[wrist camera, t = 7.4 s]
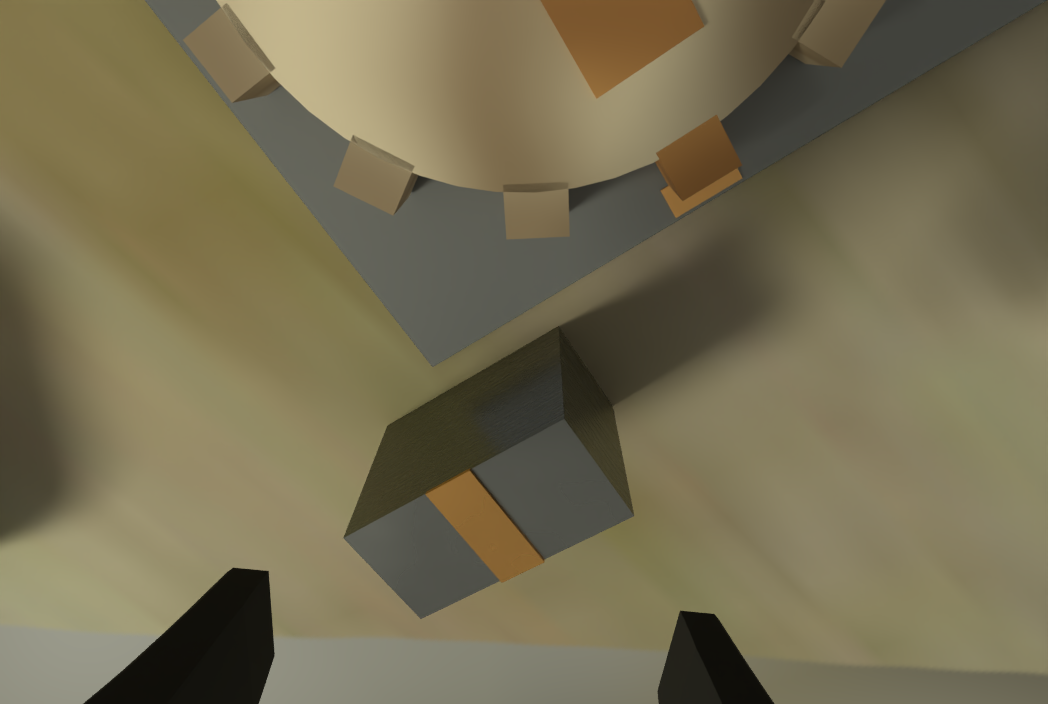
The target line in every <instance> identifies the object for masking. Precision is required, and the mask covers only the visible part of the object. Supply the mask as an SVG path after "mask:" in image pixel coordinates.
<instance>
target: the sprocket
mask: <svg viewBox="0 0 1048 704" xmlns="http://www.w3.org/2000/svg"><path fill="white" fill-rule="evenodd" d="M216 1H217V2H218V4H219V5H220V7H221V8H220V9H219V10H217V11H216V12H215V13H214V14H213V15H212V16H210V17H209V18H208V19H207V20H206V21H205V22H203V23H202V24H201V25H200V26H199V27H197V28H196V29H195V30H194V31H193V32H192V33H190V34H189V35H188V36H187V37H186V38H185V39H183V41H184V42H185V43H186V45H187V46H188V47H189V48H190V50H191V51H192V52H193V54H194V55H195V56H196V57H197V59H198V60H199V61H200V63H201V64H202V65H203V66H204V68H205V69H206V70H207V71H208V73H209V74H210V75H211V77H212V78H213V79H214V80H215V82H216V83H217V84H218V86H219V87H220V88H221V89H222V91H223V92H224V93H225V94H226V96H227V97H228V98H229V100H230V101H231V102H232V103H234V102H239V101H243V100H248V99H253V98H257V97H262V96H267V95H269V94H270V93H271V92H273V91H274V90H275V89H277V88H278V87H279V86H280V85H282V86H283V87H284V88H285V89H286V90H287V91H288V92H289V93H290V94H291V95H292V96H293V97H294V98H295V99H297V100H298V101H299V102H300V103H301V104H302V105H303V106H304V107H305V108H306V109H307V110H308V111H309V112H311V113H312V114H313V115H314V116H316V117H317V118H318V119H320V120H321V121H322V122H324V123H325V124H326V125H328V126H329V127H330V128H332V129H333V130H334V131H336V132H337V133H338V134H340V135H341V136H342V137H344V138H345V139H347V140H349V141H350V144H349V146H348V149H347V151H346V154H345V157H344V159H343V162H342V165H341V167H340V170H339V173H338V175H337V178H336V180H335V183H334V187H336V188H338V189H340V190H342V191H344V192H346V193H348V194H350V195H352V196H354V197H356V198H358V199H360V200H362V201H364V202H366V203H368V204H370V205H373V206H375V207H377V208H379V209H381V210H383V211H385V212H387V213H389V214H391V215H393V216H394V214H395V213H396V212H397V211H398V209H399V208H400V207H401V206H402V205H403V203H404V202H405V201H406V200H407V199H408V197H409V196H410V194H411V191H412V189H413V187H414V185H415V182H416V180H417V178H418V175H419V176H423V177H426V178H430V179H434V180H437V181H441V182H444V183H448V184H451V185H455V186H459V187H466V188H473V189H480V190H486V191H493V192H503V195H504V210H505V225H506V239H527V238H548V237H569V236H570V230H569V193H568V189H571V188H577V187H581V186H585V185H589V184H593V183H597V182H601V181H605V180H609V179H613V178H616V177H619V176H621V175H624V174H626V173H629V172H631V171H634V170H636V169H639V168H641V167H644V166H646V165H649V164H652V163H654V162H655V163H656V165H657V166H658V168H659V170H660V172H661V174H662V175H663V177H664V179H665V181H666V183H667V184H668V185H669V186H670V187H671V189H672V190H673V191H674V192H675V193H676V194H677V195H678V197H679V198H680V199H681V200H682V201H684V200H686V199H687V198H689V197H691V196H692V195H694V194H695V193H697V192H699V191H700V190H702V189H704V188H705V187H707V186H709V185H710V184H712V183H714V182H715V181H717V180H719V179H720V178H722V177H724V176H725V175H727V174H728V173H730V172H732V171H733V170H735V169H737V168H738V167H740V166H742V164H741V162H740V160H739V158H738V156H737V154H736V152H735V150H734V148H733V146H732V144H731V142H730V140H729V138H728V136H727V134H726V132H725V130H724V128H723V126H722V124H721V122H720V121H721V120H722V119H724V118H725V117H727V116H728V115H729V114H730V113H731V112H732V111H733V110H734V109H735V108H737V107H738V106H739V105H740V104H741V103H742V102H743V101H744V100H745V99H746V98H747V97H749V96H750V95H751V94H752V93H753V92H754V91H755V90H756V89H757V88H758V87H760V86H761V85H762V83H763V82H764V81H765V80H766V79H767V78H768V77H769V75H770V74H771V73H772V72H773V71H774V70H775V69H776V67H777V66H778V65H779V64H780V63H781V62H782V61H783V60H784V58H785V57H786V56H787V55H788V54H789V55H791V56H793V57H794V58H796V59H798V60H799V61H801V62H803V63H804V64H810V65H820V66H830V67H839V68H842V66H843V65H844V63H845V62H846V60H847V59H848V57H849V56H850V54H851V53H852V51H853V50H854V48H855V47H856V45H857V44H858V42H859V40H860V39H861V37H862V36H863V34H864V33H865V31H866V30H867V28H868V27H869V25H870V24H871V22H872V21H873V19H874V18H875V16H876V15H877V13H878V12H879V10H880V9H881V7H882V5H883V4H884V2H885V1H886V0H216Z"/></svg>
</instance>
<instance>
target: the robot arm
mask: <svg viewBox="0 0 1048 704" xmlns="http://www.w3.org/2000/svg"><path fill="white" fill-rule="evenodd" d="M273 658H274V641H273V627H272V613H271V599H270V585H269V571H261V570H251V569H241V568H232V569H231V570H230V571H228V572H227V573H226V574H225V575H224V576H223V577H222V578H221V579H220V580H219V581H218V582H217V583H216V584H214V585H213V586H212V587H211V588H210V589H209V590H208V591H207V592H206V593H205V594H204V595H203V596H202V597H201V598H200V599H199V600H198V601H197V602H196V603H195V604H194V605H193V606H192V607H191V608H190V609H189V610H188V611H187V612H186V613H185V614H184V615H182V616H181V617H180V618H179V619H178V620H177V621H176V622H175V623H174V624H173V625H172V626H171V627H170V628H169V629H168V630H167V631H166V632H165V633H163V634H162V635H161V636H160V637H159V638H158V639H157V640H156V641H155V642H154V643H152V644H151V645H150V646H149V647H148V648H147V649H146V650H145V651H144V652H143V653H141V654H140V655H139V656H138V657H137V658H136V659H135V660H134V661H133V662H132V663H131V664H129V665H128V666H127V667H126V668H125V669H124V670H123V671H121V672H120V673H119V674H118V675H117V676H116V677H115V678H113V679H112V680H111V681H110V682H109V683H107V684H106V685H105V686H104V687H103V688H101V689H100V690H99V691H98V692H97V693H95V694H94V695H93V696H92V697H91V698H90V699H88V700H87V701H86V702H85V703H84V704H259V701H260V698H261V695H262V692H263V689H264V686H265V683H266V680H267V677H268V674H269V671H270V668H271V665H272V662H273ZM658 700H659V704H774V702H773V701H772V700H771V698H770V697H769V695H768V694H767V692H766V691H765V689H764V688H763V686H762V685H761V683H760V682H759V680H758V679H757V677H756V676H755V674H754V673H753V671H752V670H751V668H750V667H749V665H748V664H747V662H746V661H745V659H744V658H743V656H742V655H741V653H740V652H739V650H738V649H737V647H736V645H735V644H734V642H733V641H732V639H731V638H730V636H729V635H728V633H727V631H726V630H725V628H724V627H723V625H722V624H721V622H720V621H719V619H718V618H717V617H716V615H715V614H709V613H698V612H688V611H680V613H679V617H678V620H677V624H676V627H675V631H674V634H673V638H672V641H671V645H670V649H669V652H668V656H667V660H666V663H665V666H664V670H663V674H662V677H661V681H660V684H659V688H658Z"/></svg>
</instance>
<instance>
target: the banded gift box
mask: <svg viewBox="0 0 1048 704" xmlns="http://www.w3.org/2000/svg"><path fill="white" fill-rule="evenodd" d="M633 516H634V512H633V507H632V502H631V497H630V492H629V487H628V482H627V477H626V472H625V467H624V461H623V456H622V451H621V446H620V441H619V436H618V431H617V426H616V421H615V416H614V410H613V406H612V404H611V403H610V402H609V400H608V399H607V397H606V396H605V394H604V393H603V391H602V390H601V388H600V387H599V385H598V384H597V382H596V381H595V379H594V378H593V377H592V375H591V374H590V372H589V371H588V369H587V368H586V366H585V365H584V363H583V362H582V360H581V359H580V357H579V356H578V354H577V353H576V352H575V350H574V349H573V347H572V346H571V344H570V343H569V341H568V340H567V338H566V337H565V335H564V334H563V332H562V331H561V329H560V328H559V326H558V327H556V328H555V329H553V330H551V331H549V332H548V333H546V334H544V335H543V336H541V337H539V338H537V339H536V340H534V341H532V342H531V343H529V344H527V345H525V346H524V347H522V348H520V349H519V350H517V351H515V352H513V353H512V354H510V355H508V356H506V357H505V358H503V359H501V360H500V361H498V362H496V363H494V364H493V365H491V366H489V367H488V368H486V369H484V370H482V371H481V372H479V373H477V374H476V375H474V376H472V377H470V378H469V379H467V380H465V381H464V382H462V383H460V384H458V385H457V386H455V387H453V388H452V389H450V390H448V391H446V392H445V393H443V394H441V395H440V396H438V397H436V398H434V399H433V400H431V401H429V402H427V403H426V404H424V405H422V406H421V407H419V408H417V409H415V410H414V411H412V412H410V413H409V414H407V415H405V416H403V417H402V418H400V419H398V420H397V421H395V422H393V423H391V424H390V425H388V426H387V428H386V431H385V433H384V436H383V438H382V441H381V443H380V446H379V448H378V451H377V454H376V456H375V459H374V461H373V464H372V466H371V469H370V471H369V474H368V477H367V479H366V482H365V484H364V487H363V489H362V492H361V494H360V497H359V500H358V502H357V505H356V507H355V510H354V512H353V515H352V517H351V520H350V523H349V525H348V528H347V530H346V533H345V535H344V539H345V540H346V541H347V542H348V543H349V545H350V546H351V547H352V548H353V549H354V550H355V551H356V552H357V553H358V554H359V555H360V556H361V557H362V558H363V559H364V560H365V561H366V562H367V563H368V564H369V565H370V566H371V567H372V568H373V570H374V571H375V572H376V573H377V574H378V575H379V576H380V577H381V578H382V579H383V580H384V581H385V582H386V583H387V584H388V585H389V586H390V587H391V588H392V589H393V590H394V591H395V592H396V594H397V595H398V596H399V597H400V598H401V599H402V600H403V601H404V602H405V603H406V604H407V605H408V606H409V607H410V608H411V609H412V610H413V611H414V612H415V613H416V614H417V615H418V616H419V617H420V619H422V618H424V617H426V616H428V615H430V614H432V613H434V612H436V611H438V610H441V609H443V608H445V607H447V606H449V605H451V604H453V603H455V602H457V601H459V600H461V599H463V598H465V597H467V596H470V595H472V594H474V593H476V592H478V591H480V590H482V589H484V588H486V587H488V586H490V585H492V584H494V583H496V582H499V581H501V583H502V582H504V581H507V580H509V579H511V578H513V577H515V576H517V575H519V574H521V573H523V572H525V571H527V570H529V569H531V568H533V567H536V566H538V565H540V564H542V563H544V559H546V558H548V557H550V556H552V555H554V554H556V553H559V552H561V551H563V550H565V549H567V548H569V547H571V546H573V545H575V544H577V543H579V542H581V541H583V540H585V539H588V538H590V537H592V536H594V535H596V534H598V533H600V532H602V531H604V530H606V529H608V528H610V527H612V526H614V525H617V524H619V523H621V522H623V521H625V520H627V519H629V518H631V517H633Z"/></svg>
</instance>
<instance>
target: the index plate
mask: <svg viewBox="0 0 1048 704" xmlns="http://www.w3.org/2000/svg"><path fill="white" fill-rule="evenodd" d="M145 1H146V2H147V4H148V5H149V6H150V8H151V9H152V10H153V11H154V13H155V14H156V15H157V17H158V18H159V19H160V20H161V22H162V23H163V24H164V25H165V27H166V28H167V29H168V31H169V32H170V33H171V34H172V36H173V37H174V38H175V39H176V41H177V42H178V43H179V45H180V46H181V47H182V48H183V50H184V51H185V52H186V53H187V55H188V56H189V57H190V59H191V60H192V61H193V62H194V64H195V65H196V66H197V67H198V69H199V70H200V71H201V73H202V74H203V75H204V76H205V78H206V79H207V80H208V82H209V83H210V84H211V85H212V87H213V88H214V89H215V90H216V92H217V93H218V94H219V96H220V97H221V98H222V99H223V101H224V102H225V103H226V104H227V106H228V107H229V108H230V110H231V111H232V112H233V113H234V115H235V116H236V117H237V118H238V120H239V121H240V122H241V124H242V125H243V126H244V127H245V129H246V130H247V131H248V132H249V134H250V135H251V136H252V138H253V139H254V140H255V141H256V143H257V144H258V145H259V146H260V148H261V149H262V150H263V152H264V153H265V154H266V155H267V157H268V158H269V159H270V161H271V162H272V163H273V164H274V166H275V167H276V168H277V169H278V171H279V172H280V173H281V175H282V176H283V177H284V178H285V180H286V181H287V182H288V183H289V185H290V186H291V187H292V189H293V190H294V191H295V192H296V194H297V195H298V196H299V197H300V199H301V200H302V201H303V203H304V204H305V205H306V206H307V208H308V209H309V210H310V211H311V213H312V214H313V215H314V217H315V218H316V219H317V220H318V222H319V223H320V224H321V225H322V227H323V228H324V229H325V231H326V232H327V233H328V234H329V236H330V237H331V238H332V240H333V241H334V242H335V243H336V245H337V246H338V247H339V248H340V250H341V251H342V252H343V254H344V255H345V256H346V257H347V259H348V260H349V261H350V262H351V264H352V265H353V266H354V268H355V269H356V270H357V271H358V273H359V274H360V275H361V276H362V278H363V279H364V280H365V282H366V283H367V284H368V285H369V287H370V288H371V289H372V290H373V292H374V293H375V294H376V296H377V297H378V298H379V299H380V301H381V302H382V303H383V304H384V306H385V307H386V308H387V310H388V311H389V312H390V313H391V315H392V316H393V317H394V319H395V320H396V321H397V322H398V324H399V325H400V326H401V327H402V329H403V330H404V331H405V333H406V334H407V335H408V336H409V338H410V339H411V340H412V341H413V343H414V344H415V345H416V347H417V348H418V349H419V350H420V352H421V353H422V354H423V355H424V357H425V358H426V359H427V361H428V362H429V363H430V364H431V366H432V367H434V366H435V365H437V364H439V363H440V362H442V361H444V360H445V359H447V358H449V357H450V356H452V355H454V354H455V353H457V352H459V351H460V350H462V349H464V348H465V347H467V346H469V345H470V344H472V343H474V342H475V341H477V340H479V339H480V338H482V337H484V336H485V335H487V334H489V333H491V332H492V331H494V330H496V329H497V328H499V327H501V326H502V325H504V324H506V323H507V322H509V321H511V320H512V319H514V318H516V317H517V316H519V315H521V314H522V313H524V312H526V311H527V310H529V309H531V308H532V307H534V306H536V305H537V304H539V303H541V302H542V301H544V300H546V299H547V298H549V297H551V296H552V295H554V294H556V293H557V292H559V291H561V290H562V289H564V288H566V287H567V286H569V285H571V284H573V283H574V282H576V281H578V280H579V279H581V278H583V277H584V276H586V275H588V274H589V273H591V272H593V271H594V270H596V269H598V268H599V267H601V266H603V265H604V264H606V263H608V262H609V261H611V260H613V259H614V258H616V257H618V256H619V255H621V254H623V253H624V252H626V251H628V250H629V249H631V248H633V247H634V246H636V245H638V244H639V243H641V242H643V241H644V240H646V239H648V238H650V237H651V236H653V235H655V234H656V233H658V232H660V231H661V230H663V229H665V228H666V227H668V226H670V225H671V224H673V223H675V222H676V221H678V220H680V219H681V218H683V217H685V216H686V215H688V214H690V213H691V212H693V211H695V210H696V209H698V208H700V207H701V206H703V205H705V204H706V203H708V202H710V201H711V200H713V199H715V198H716V197H718V196H720V195H721V194H723V193H725V192H726V191H728V190H730V189H732V188H733V187H735V186H737V185H738V184H740V183H742V182H743V181H745V180H747V179H748V178H750V177H752V176H753V175H755V174H757V173H758V172H760V171H762V170H763V169H765V168H767V167H768V166H770V165H772V164H773V163H775V162H777V161H778V160H780V159H782V158H783V157H785V156H787V155H788V154H790V153H792V152H793V151H795V150H797V149H798V148H800V147H802V146H803V145H805V144H807V143H808V142H810V141H812V140H814V139H815V138H817V137H819V136H820V135H822V134H824V133H825V132H827V131H829V130H830V129H832V128H834V127H835V126H837V125H839V124H840V123H842V122H844V121H845V120H847V119H849V118H850V117H852V116H854V115H855V114H857V113H859V112H860V111H862V110H864V109H865V108H867V107H869V106H870V105H872V104H874V103H875V102H877V101H879V100H880V99H882V98H884V97H885V96H887V95H889V94H891V93H892V92H894V91H896V90H897V89H899V88H901V87H902V86H904V85H906V84H907V83H909V82H911V81H912V80H914V79H916V78H917V77H919V76H921V75H922V74H924V73H926V72H927V71H929V70H931V69H932V68H934V67H936V66H937V65H939V64H941V63H942V62H944V61H946V60H947V59H949V58H951V57H952V56H954V55H956V54H957V53H959V52H961V51H962V50H964V49H966V48H967V47H969V46H971V45H973V44H974V43H976V42H978V41H979V40H981V39H983V38H984V37H986V36H988V35H989V34H991V33H993V32H994V31H996V30H998V29H999V28H1001V27H1003V26H1004V25H1006V24H1008V23H1009V22H1011V21H1013V20H1014V19H1016V18H1018V17H1019V16H1021V15H1023V14H1024V13H1026V12H1028V11H1029V10H1031V9H1033V8H1034V7H1036V6H1038V5H1039V4H1041V3H1043V2H1044V1H1046V0H886V1H885V2H884V4H883V5H882V7H881V9H880V10H879V12H878V13H877V15H876V16H875V18H874V19H873V21H872V22H871V24H870V25H869V27H868V28H867V30H866V31H865V33H864V34H863V36H862V37H861V39H860V40H859V42H858V44H857V45H856V47H855V48H854V50H853V51H852V53H851V54H850V56H849V57H848V59H847V60H846V62H845V63H844V65H843V66H842V68H839V67H830V66H820V65H810V64H804V63H803V62H801V61H799V60H798V59H796V58H794V57H793V56H791V55H789V54H788V55H787V56H786V57H785V58H784V60H783V61H782V62H781V63H780V64H779V65H778V66H777V67H776V69H775V70H774V71H773V72H772V73H771V74H770V75H769V77H768V78H767V79H766V80H765V81H764V82H763V83H762V85H761V86H760V87H758V88H757V89H756V90H755V91H754V92H753V93H752V94H751V95H750V96H749V97H747V98H746V99H745V100H744V101H743V102H742V103H741V104H740V105H739V106H738V107H737V108H735V109H734V110H733V111H732V112H731V113H730V114H729V115H728V116H727V117H725V118H724V119H722V120H721V121H720V122H721V124H722V126H723V128H724V130H725V132H726V134H727V136H728V138H729V140H730V142H731V144H732V146H733V148H734V150H735V152H736V154H737V156H738V158H739V160H740V162H741V164H742V166H740V167H738V168H737V169H735V170H733V171H732V172H730V173H728V174H727V175H725V176H724V177H722V178H720V179H719V180H717V181H715V182H714V183H712V184H710V185H709V186H707V187H705V188H704V189H702V190H700V191H699V192H697V193H695V194H694V195H692V196H691V197H689V198H687V199H686V200H684V201H682V200H681V199H680V198H679V197H678V195H677V194H676V193H675V192H674V191H673V190H672V189H671V187H670V186H669V185H668V184H667V183H666V181H665V179H664V177H663V175H662V174H661V172H660V170H659V168H658V166H657V165H656V163H655V162H654V163H652V164H649V165H646V166H644V167H641V168H639V169H636V170H634V171H631V172H629V173H626V174H624V175H621V176H619V177H616V178H613V179H609V180H605V181H601V182H597V183H593V184H589V185H585V186H581V187H577V188H571V189H568V193H569V230H570V236H569V237H548V238H527V239H506V225H505V210H504V195H503V192H493V191H486V190H480V189H473V188H466V187H459V186H455V185H451V184H448V183H444V182H441V181H437V180H434V179H430V178H426V177H423V176H419V175H418V178H417V180H416V182H415V185H414V187H413V189H412V191H411V194H410V196H409V197H408V199H407V200H406V201H405V202H404V203H403V205H402V206H401V207H400V208H399V209H398V211H397V212H396V213H395V214H394V216H393V215H391V214H389V213H387V212H385V211H383V210H381V209H379V208H377V207H375V206H373V205H370V204H368V203H366V202H364V201H362V200H360V199H358V198H356V197H354V196H352V195H350V194H348V193H346V192H344V191H342V190H340V189H338V188H336V187H334V183H335V180H336V178H337V175H338V173H339V170H340V167H341V165H342V162H343V159H344V157H345V154H346V151H347V149H348V146H349V144H350V141H349V140H347V139H345V138H344V137H342V136H341V135H340V134H338V133H337V132H336V131H334V130H333V129H332V128H330V127H329V126H328V125H326V124H325V123H324V122H322V121H321V120H320V119H318V118H317V117H316V116H314V115H313V114H312V113H311V112H309V111H308V110H307V109H306V108H305V107H304V106H303V105H302V104H301V103H300V102H299V101H298V100H297V99H295V98H294V97H293V96H292V95H291V94H290V93H289V92H288V91H287V90H286V89H285V88H284V87H283V86H282V85H280V86H279V87H278V88H277V89H275V90H274V91H273V92H271V93H270V94H269V95H267V96H262V97H257V98H253V99H248V100H243V101H239V102H234V103H232V102H231V101H230V100H229V98H228V97H227V96H226V94H225V93H224V92H223V91H222V89H221V88H220V87H219V86H218V84H217V83H216V82H215V80H214V79H213V78H212V77H211V75H210V74H209V73H208V71H207V70H206V69H205V68H204V66H203V65H202V64H201V63H200V61H199V60H198V59H197V57H196V56H195V55H194V54H193V52H192V51H191V50H190V48H189V47H188V46H187V45H186V43H185V42H184V41H183V39H185V38H186V37H187V36H188V35H189V34H190V33H192V32H193V31H194V30H195V29H196V28H197V27H199V26H200V25H201V24H202V23H203V22H205V21H206V20H207V19H208V18H209V17H210V16H212V15H213V14H214V13H215V12H216V11H217V10H219V9H220V8H221V7H220V5H219V4H218V2H217V1H216V0H145Z"/></svg>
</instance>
